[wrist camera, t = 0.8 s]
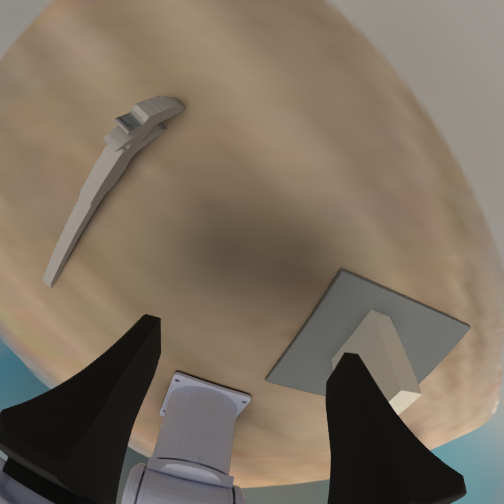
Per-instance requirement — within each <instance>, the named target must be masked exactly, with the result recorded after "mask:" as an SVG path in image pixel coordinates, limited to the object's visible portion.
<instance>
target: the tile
mask: <svg viewBox="0 0 504 504" xmlns="http://www.w3.org/2000/svg"><path fill="white" fill-rule="evenodd" d="M344 352H347V353H356V354H359V356H360V358H361V359H362V361H363V362H364V364H365V366H366V367H367V369H368V370H369V372H370V374H371V375H372V377H373V379H374V380H375V382H376V384H377V385H378V387H379V388H380V390H381V391H382V393H383V395H384V396H385V398H386V399H387V401H388V402H389V403H390V405H391V406H392V408H393V409H394V410H395V412H396V413H397V415H399V414H400V413H401V412H402V411H403V410H405V409H406V408H407V407H408V406H409V405H410V404H412V403H413V402H414V401H415V400H416V399H417V398H418V397H419V396H421V395H422V392H421V390H420V387H419V384H418V382H417V379H416V377H415V374H414V372H413V369H412V367H411V364H410V362H409V360H408V357H407V355H406V352H405V350H404V348H403V345H402V343H401V341H400V338H399V336H398V334H397V332H396V329H395V327H394V325H393V323H392V321H391V319H390V317H389V316H387V315H384V314H381V313H379V312H376V311H374V310H370V312H369V313H368V314H367V316H366V317H365V318H364V319H363V321H362V322H361V323H360V325H359V326H358V327H357V329H356V330H355V331H354V332H353V334H352V335H351V336H350V337H349V339H348V340H347V341H346V342H345V344H344V345H343V346H342V347H341V348H340V350H339V351H338V352H337V353H336V354H335V356H334V357H333V358H332V359H331V361H332V367H333V370H334V369H335V367H336V365H337V364H338V362H339V360H340V359H341V357H342V355H343V354H344Z"/></svg>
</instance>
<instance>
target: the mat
mask: <svg viewBox="0 0 504 504" xmlns="http://www.w3.org/2000/svg"><path fill="white" fill-rule="evenodd" d="M370 310H374V311H376V312H379V313H381V314H384V315H387V316H389V317H390V319H391V321H392V323H393V325H394V327H395V329H396V332H397V334H398V336H399V338H400V341H401V343H402V345H403V348H404V350H405V352H406V355H407V357H408V360H409V362H410V364H411V367H412V369H413V372H414V374H415V377H416V379H417V382H418V384H419V383H420V382H421V381H423V380H424V379H425V378H426V377H427V376H428V375H429V374H430V373H431V372H432V371H433V370H434V368H435V367H436V366H437V365H438V364H439V363H440V362H441V361H442V360H443V359H444V358H445V357H446V356H447V355H448V354H449V352H450V351H451V350H452V349H453V348H454V347H455V346H456V345H457V343H458V342H459V341H460V340H461V339H462V338H463V336H464V335H465V334H466V333H467V332H468V330H469V329H470V328H471V327H470V325H468V324H466V323H464V322H462V321H459V320H457V319H455V318H453V317H451V316H448V315H446V314H444V313H442V312H440V311H437V310H435V309H433V308H431V307H429V306H426V305H424V304H422V303H420V302H417V301H415V300H413V299H411V298H408V297H406V296H404V295H402V294H399V293H397V292H395V291H392V290H390V289H388V288H386V287H383V286H381V285H379V284H376V283H374V282H372V281H370V280H367V279H365V278H363V277H360V276H358V275H356V274H353V273H351V272H349V271H346V270H344V269H342V268H341V269H340V271H339V272H338V274H337V276H336V277H335V279H334V280H333V282H332V283H331V285H330V287H329V288H328V290H327V291H326V293H325V294H324V296H323V297H322V299H321V300H320V302H319V303H318V305H317V306H316V308H315V309H314V311H313V312H312V314H311V315H310V317H309V318H308V320H307V321H306V323H305V324H304V325H303V327H302V328H301V330H300V331H299V333H298V334H297V335H296V337H295V338H294V340H293V341H292V343H291V344H290V345H289V347H288V348H287V350H286V351H285V352H284V354H283V355H282V356H281V358H280V359H279V360H278V362H277V363H276V365H275V366H274V367H273V369H272V370H271V371H270V373H269V374H268V375H267V377H266V378H265V381H267V382H271V383H274V384H278V385H282V386H285V387H289V388H293V389H297V390H301V391H305V392H309V393H314V394H318V395H323V396H326V382H327V380H328V378H329V377H330V375H331V374H332V372H333V367H332V361H331V359H332V358H333V357H334V356H335V354H336V353H337V352H338V351H339V350H340V348H341V347H342V346H343V345H344V344H345V342H346V341H347V340H348V339H349V337H350V336H351V335H352V334H353V332H354V331H355V330H356V329H357V327H358V326H359V325H360V323H361V322H362V321H363V319H364V318H365V317H366V316H367V314H368V313H369V312H370Z"/></svg>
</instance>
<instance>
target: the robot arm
mask: <svg viewBox="0 0 504 504" xmlns="http://www.w3.org/2000/svg"><path fill="white" fill-rule="evenodd" d="M160 355H161V318H159V317H155V316H151V315H147V314H145V315H143V316H142V317H141V318H140V319H139V320H138V321H137V322H136V323H135V325H134V326H133V327H132V328H131V329H130V330H129V331H127V332H126V333H125V334H124V335H123V336H122V337H121V338H120V339H119V340H118V341H117V342H116V343H115V344H114V345H113V346H111V347H110V348H109V349H108V350H107V351H106V352H105V353H103V354H102V355H101V356H100V357H99V358H97V359H96V360H95V361H94V362H92V363H91V364H90V365H89V366H87V367H86V368H85V369H83V370H82V371H80V372H79V373H77V374H76V375H74V376H73V377H72V378H70V379H68V380H67V381H65V382H63V383H62V384H60V385H58V386H57V387H55V388H53V389H51V390H49V391H47V392H45V393H43V394H41V395H39V396H37V397H35V398H33V399H31V400H28V401H26V402H24V403H21V404H18V405H15V406H12V407H10V408H7V409H4V410H2V411H1V413H0V450H1V451H3V452H4V453H5V454H6V455H7V456H8V459H7V461H5V460H3V459H2V458H1V457H0V504H116V497H117V491H118V486H119V480H120V475H121V471H122V466H123V461H124V457H125V453H126V449H127V445H128V442H129V438H130V435H131V431H132V427H133V425H134V422H135V419H136V417H137V414H138V412H139V410H140V407H141V405H142V402H143V400H144V398H145V396H146V393H147V391H148V389H149V386H150V384H151V382H152V379H153V377H154V374H155V371H156V368H157V365H158V361H159V358H160ZM250 401H251V396H250V395H248V394H244V393H241V392H238V391H234V390H231V389H228V388H224V387H221V386H218V385H215V384H212V383H209V382H206V381H203V380H200V379H197V378H194V377H191V376H188V375H186V374H183V373H180V372H176V373H174V376H173V378H172V381H171V383H170V386H169V389H168V391H167V394H166V397H165V399H164V402H163V405H162V407H161V410H160V413H159V414H160V415H161V416H163V417H164V418H163V421H162V425H161V428H160V431H159V435H158V438H157V442H156V445H155V449H154V452H153V456H152V457H150V458H149V461H148V465H146V464H143V463H139V464H138V465H136V466H134V467H133V468H132V470H131V472H130V474H129V477H128V480H127V483H126V486H125V490H124V494H123V498H122V504H246V500H245V495H244V493H243V492H242V491H241V489H240V487H239V486H235V485H233V480H234V477H233V476H229V472H230V463H231V455H232V446H233V438H234V429H235V421H236V418H237V417H238V416H239V414H240V413H241V412H242V411H243V410H244V408H245V407H246V406H247V405H248V403H249V402H250ZM326 412H327V422H328V431H329V440H330V450H331V470H330V486H329V497H328V504H450V503H452V502H454V501H456V500H458V499H460V498H462V497H463V496H465V494H466V493H467V492H466V487H465V483H464V478H463V476H462V475H461V474H459V473H458V472H457V471H455V470H454V469H452V468H451V467H449V466H448V465H446V464H445V463H444V462H442V461H441V460H440V459H439V458H438V457H436V456H435V455H434V454H433V453H432V452H430V450H429V449H427V448H426V447H425V446H424V445H423V444H422V443H421V442H420V441H419V440H418V439H417V437H416V436H415V435H414V434H413V433H412V432H411V431H410V430H409V428H408V427H407V426H406V425H405V424H404V422H403V421H402V420H401V419H400V417H399V416H398V415H397V413H396V412H395V410H394V409H393V408H392V406H391V405H390V403H389V402H388V401H387V399H386V398H385V396H384V395H383V393H382V391H381V390H380V388H379V387H378V385H377V384H376V382H375V380H374V379H373V377H372V375H371V374H370V372H369V370H368V369H367V367H366V366H365V364H364V362H363V361H362V359H361V358H360V356H359V354H356V353H347V352H344V354H343V355H342V357H341V359H340V360H339V362H338V364H337V365H336V367H335V369H334V370H333V372H332V374H331V375H330V377H329V378H328V380H327V382H326Z"/></svg>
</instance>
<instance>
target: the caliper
mask: <svg viewBox="0 0 504 504" xmlns="http://www.w3.org/2000/svg"><path fill="white" fill-rule="evenodd" d="M184 108H185V107H184V106H183V105H181V104H180V103H179V102H178V101H177V100H176V99H175V98H174V97H166V96H157V97H154V98H151V99H148V100H145V101H143V102H140V103H137V104H136V105H135V106H134V107H133V108H132V110H131V111H130V112H129V113H128V114H125V115H123V116H120V117H118V118H115V120H114V121H115V122H116V123H117V124H118V125H119V126H117V127H116V128H114V129H113V130H112V131H110V132H109V133H108V134H107V135H105V136H104V137H103V138H102V139H103V140H104V141H105V142H106V143H107V146H106V147H105V149H104V151H103V152H102V154H101V156H100V157H99V159H98V161H97V162H96V164H95V166H94V167H93V169H92V171H91V173H90V174H89V176H88V178H87V180H86V182H85V184H84V185H83V187H82V189H81V191H80V193H79V195H80V198H79V200H78V202H77V204H76V205H75V207H74V209H73V211H72V213H71V215H70V217H69V219H68V221H67V223H66V226H65V228H64V230H63V232H62V234H61V236H60V238H59V241H58V243H57V245H56V247H55V250H54V252H53V254H52V257H51V259H50V261H49V264H48V266H47V269H46V271H45V274H44V277H43V279H42V280H43V281H44V282H45V283H46V284H47V285H48V286H49V287H50V288H52V287H53V285H54V283H55V281H56V280H57V278H58V276H59V274H60V273H61V271H62V269H63V267H64V265H65V263H66V261H67V259H68V257H69V255H70V253H71V252H72V250H73V248H74V246H75V244H76V242H77V240H78V239H79V237H80V235H81V233H82V232H83V230H84V228H85V226H86V225H87V223H88V221H89V220H90V218H91V216H92V215H93V213H94V211H95V210H96V208H97V206H98V205H99V203H100V202H101V200H102V198H103V197H104V195H105V194H106V192H108V191H109V190H110V189H111V188H113V187H114V185H115V184H116V182H117V180H118V179H119V177H120V176H121V175H122V173H123V172H124V171H125V169H126V167H127V165H128V164H129V161H130V160H131V158H132V157H133V155H134V154H135V153H137V152H138V151H139V150H141V149H142V148H143V147H145V146H146V145H147V144H149V143H150V142H151V141H153V140H154V139H155V138H157V137H158V136H160V135H161V134H162V133H163V132H164V131H165V130H166V129H167V127H166V126H165V125H164V124H163V123H162V122H163V121H165V120H167V119H169V118H171V117H173V116H175V115H178V114H180V113H181V112H182V111H183V110H184Z"/></svg>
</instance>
